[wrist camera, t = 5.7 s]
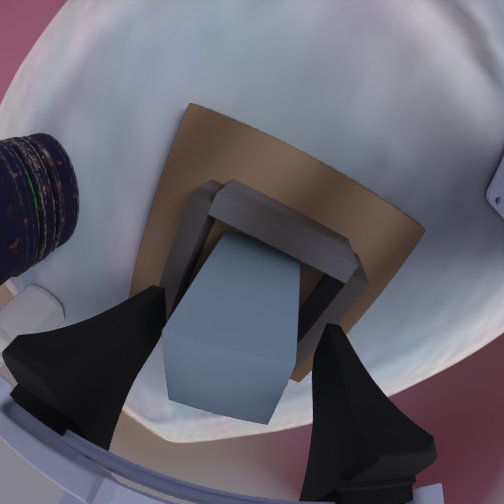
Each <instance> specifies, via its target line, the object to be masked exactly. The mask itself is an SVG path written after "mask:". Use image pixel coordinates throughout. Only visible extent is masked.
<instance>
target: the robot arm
mask: <svg viewBox="0 0 504 504" xmlns="http://www.w3.org/2000/svg"><path fill="white" fill-rule="evenodd" d="M496 198H497V201H496V202H495V200H496ZM486 199H487V201H488V202H489V203H490V204H491V205H492V206H493V207H494V209H495V210H496V211H497V212H498V213H499V214H500V215H501V217H502V218H503V219H504V156H503V158H502V160H501V163H500V165H499V167H498V169H497V171H496V173H495V175H494V178H493V180H492V182H491V184H490V186H489V188H488V189H487V192H486ZM166 323H167V318H166V299H165V288H162V287H159V286H155V285H152V286H150V287H148V288H147V289H145V290H143V291H141V292H140V293H138V294H136V295H134V296H133V297H131V298H129V299H127V300H126V301H124V302H122V303H120V304H119V305H117V306H115V307H113V308H111V309H109V310H107V311H105V312H103V313H101V314H99V315H97V316H94V317H92V318H90V319H87V320H85V321H82V322H79V323H76V324H73V325H70V326H66V327H63V328H60V329H55V330H51V331H46V332H40V333H32V334H23V335H17V337H16V338H15V339H14V340H13V341H12V342H11V343H10V344H9V345H8V346H7V347H6V348H5V349H4V350H3V351H2V357H3V360H4V362H5V364H6V366H7V367H8V369H9V370H10V372H11V373H12V375H13V376H14V378H15V379H16V381H17V383H18V384H17V385H16V387H14V386H13V385H12V384H11V383H10V382H9V381H8V380H7V379H6V378H5V377H3V376H2V375H1V374H0V438H1V439H2V440H3V441H4V442H5V443H6V444H7V445H8V446H9V447H11V448H12V449H13V450H14V451H15V452H16V453H17V454H18V455H19V456H21V457H22V458H23V459H24V460H25V461H27V462H28V463H29V464H30V465H31V466H33V467H34V468H35V469H36V470H38V471H39V472H40V473H42V474H43V475H44V476H46V477H47V478H48V479H50V480H51V481H52V482H54V483H55V484H57V485H58V486H60V487H61V488H63V489H64V490H66V492H65V493H64V495H63V497H62V499H61V501H60V503H59V504H177V503H174V502H171V501H168V500H165V499H162V498H159V497H156V496H153V495H151V494H148V493H145V492H142V491H140V490H137V489H135V488H132V487H129V486H127V485H125V484H122V483H120V482H119V481H118V480H116V479H115V478H114V477H113V476H112V474H111V473H110V472H108V471H106V470H105V469H107V470H109V471H111V472H113V473H115V474H117V475H120V476H122V477H124V478H126V479H128V480H131V481H133V482H135V483H138V484H140V485H143V486H145V487H148V488H150V489H153V490H156V491H158V492H161V493H164V494H167V495H170V496H173V497H176V498H180V499H183V500H186V501H190V502H193V503H197V504H444V501H443V492H442V484H441V483H438V484H434V485H430V486H425V487H421V488H418V489H415V490H412V484H414V483H415V482H416V478H415V475H416V474H418V473H419V472H421V471H422V470H424V469H425V468H427V467H428V466H430V465H431V464H432V463H433V462H434V461H435V460H436V458H437V451H436V447H435V442H434V438H433V436H432V435H430V434H429V433H427V432H426V431H425V430H423V429H422V428H420V427H419V426H417V425H416V424H415V423H414V422H413V421H411V420H410V419H409V418H408V417H407V416H406V415H404V414H403V413H402V412H401V411H400V410H399V409H398V408H397V407H396V406H395V405H394V404H393V403H392V402H391V401H390V400H389V399H388V397H387V396H386V395H385V394H384V393H383V392H382V390H381V389H380V388H379V387H378V385H377V384H376V383H375V382H374V380H373V379H372V378H371V376H370V375H369V373H368V372H367V370H366V369H365V367H364V366H363V364H362V363H361V361H360V359H359V357H358V356H357V354H356V352H355V351H354V349H353V347H352V345H351V344H350V342H349V340H348V338H347V336H346V335H345V333H344V331H343V329H342V327H341V326H340V325H338V324H332V323H326V326H325V328H324V331H323V333H322V336H321V338H320V341H319V343H318V346H317V348H316V350H315V353H314V356H313V367H312V395H313V427H312V436H311V444H310V451H309V458H308V463H307V469H306V474H305V479H304V484H303V488H302V492H301V496H300V499H299V501H287V500H277V499H268V498H259V497H253V496H246V495H240V494H235V493H230V492H225V491H220V490H216V489H212V488H208V487H204V486H199V485H196V484H192V483H189V482H185V481H182V480H179V479H176V478H173V477H170V476H167V475H163V474H161V473H158V472H155V471H153V470H150V469H147V468H145V467H142V466H140V465H137V464H135V463H132V462H130V461H128V460H126V459H123V458H121V457H119V456H117V455H115V454H113V453H111V452H109V451H108V450H109V447H110V443H111V440H112V436H113V433H114V429H115V427H116V424H117V421H118V418H119V415H120V413H121V410H122V408H123V405H124V403H125V400H126V398H127V395H128V393H129V391H130V389H131V386H132V384H133V382H134V380H135V378H136V376H137V375H138V373H139V371H140V370H141V368H142V367H143V365H144V363H145V362H146V360H147V359H148V357H149V355H150V354H151V352H152V351H153V349H154V347H155V346H156V344H157V342H158V341H159V339H160V337H161V334H162V330H163V329H164V327H165V325H166ZM98 465H99V466H98ZM100 466H101V467H103V468H105V469H103V468H101V467H100Z"/></svg>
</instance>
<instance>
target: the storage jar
mask: <svg viewBox="0 0 504 504" xmlns="http://www.w3.org/2000/svg"><path fill="white" fill-rule="evenodd" d="M78 213H79V194H78V186H77V180H76V176H75V172H74V169H73V166H72V163H71V161H70V159H69V157H68V155H67V153H66V151H65V150H64V148H63V147H62V145H61V144H60V143H59V142H58V141H57V140H56V139H55V138H53V137H52V136H50V135H48V134H44V133H38V134H33V135H30V136H28V137H26V136H24V137H13V138H9V139H5V140H1V141H0V285H2V284H3V283H4V282H6V281H7V280H8V279H9V278H11V277H17V276H19V275H21V274H22V273H24V272H25V271H27V270H28V269H29V268H30V267H33V266H34V265H36V264H37V263H39V262H40V261H42V260H43V259H44V258H46V257H47V255H48V254H49V253H50V252H52V251H53V250H54V249H55V248H57V247H59V246H61V245H62V244H64V243H65V242H67V240H68V239H69V238H70V237H71V235H72V234H73V232H74V230H75V227H76V224H77V220H78Z"/></svg>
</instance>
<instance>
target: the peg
mask: <svg viewBox="0 0 504 504" xmlns="http://www.w3.org/2000/svg"><path fill="white" fill-rule="evenodd" d="M299 281H300V260H299V259H297V258H295V257H293V256H291V255H289V254H287V253H285V252H283V251H281V250H279V249H277V248H275V247H273V246H271V245H269V244H267V243H265V242H263V241H261V240H259V239H257V238H255V237H253V236H249V235H244V234H239V233H235V232H230V231H226V232H225V233H224V235H223V236H222V238H221V239H220V241H219V242H218V244H217V245H216V247H215V248H214V250H213V251H212V253H211V254H210V256H209V257H208V259H207V260H206V262H205V264H204V265H203V267H202V268H201V270H200V271H199V273H198V274H197V276H196V278H195V279H194V281H193V282H192V284H191V285H190V287H189V289H188V290H187V292H186V293H185V295H184V297H183V298H182V300H181V301H180V303H179V304H178V306H177V308H176V309H175V311H174V313H173V314H172V316H171V317H170V319H169V321H168V322H167V324H166V326H165V327H164V329H163V330H162V337H163V350H164V361H165V371H166V381H167V389H168V397H169V400H172V401H175V402H178V403H181V404H184V405H188V406H191V407H194V408H198V409H201V410H205V411H208V412H212V413H216V414H220V415H224V416H228V417H232V418H236V419H241V420H246V421H250V422H255V423H261V424H266V425H268V423H269V421H270V419H271V417H272V415H273V413H274V411H275V408H276V406H277V404H278V402H279V400H280V398H281V396H282V394H283V391H284V389H285V387H286V385H287V383H288V380H289V378H290V376H291V374H292V371H293V369H294V367H295V364H296V350H297V332H298V310H299Z"/></svg>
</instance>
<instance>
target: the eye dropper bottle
mask: <svg viewBox="0 0 504 504" xmlns="http://www.w3.org/2000/svg"><path fill="white" fill-rule="evenodd" d="M63 321H64V312H63V307H62V305H61V303H60V302H59V301H58V300H57V299H56V298H55V297H54V296H53V295H52V294H50V293H49V292H48V291H46V290H45V289H43V288H42V287H39V286H37V285H29V286H28V287H26V288H25V289H24V290H23V291H22V292H20V293H19V294H18V295H17V296H16V297H15V298H13V299H12V300H11V301H10V302H9V303H8V304H7V305H6V306H4V307H3V308H2V309H1V310H0V367H1V366H2V365H3V364H4V363H5V362H4V360H3V357H2V351H3V350H4V349H5V348H6V347H7V346H8V345H9V344H10V343H11V342H12V341H13V340H14V339H15V338H16V337H17V335H23V334H32V333H40V332H46V331H51V330H55V329H57V328H58V327H59V326H60V325H61V324H62V323H63Z"/></svg>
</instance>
